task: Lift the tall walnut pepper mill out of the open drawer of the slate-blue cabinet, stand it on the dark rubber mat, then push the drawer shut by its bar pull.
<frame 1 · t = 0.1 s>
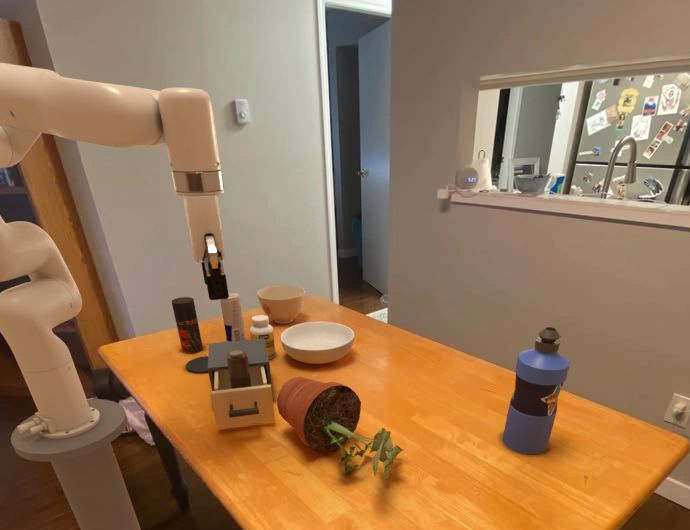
hand: (216, 290, 82), 31 cm above the table, tool pointing down, fingers open, 9 cm apart
deodorant: (192, 350, 138), on the table
bowl: (283, 321, 159), on the table
potted plant: (348, 458, 92), on the table
pill bottle: (264, 356, 134), on the table
mat: (205, 365, 128), on the table
water bottle: (524, 442, 97), on the table
drawer: (243, 398, 102), point 5 cm above the table, slide at 9.5 cm, touching pepper mill
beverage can: (236, 343, 142), on the table
cabinet: (243, 391, 116), on the table
serving bowl: (318, 357, 133), on the table
pepper mill: (244, 407, 105), point 2 cm above the table, touching drawer
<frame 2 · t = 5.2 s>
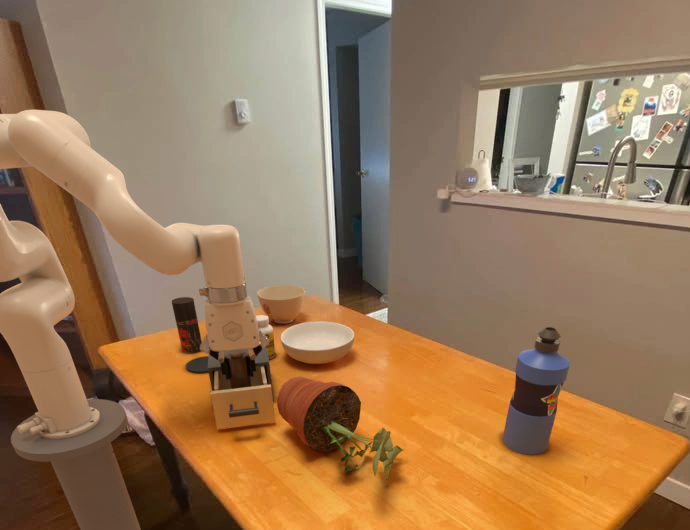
hand: (239, 374, 100), 10 cm above the table, tool pointing down, fingers closed on pepper mill, 4 cm apart
pepper mill: (244, 407, 105), point 2 cm above the table, touching drawer, gripper
everything else where it was.
when the fingers open (9 cm above the table, at t = 13.4 s): pepper mill stays where it is, resting on mat.
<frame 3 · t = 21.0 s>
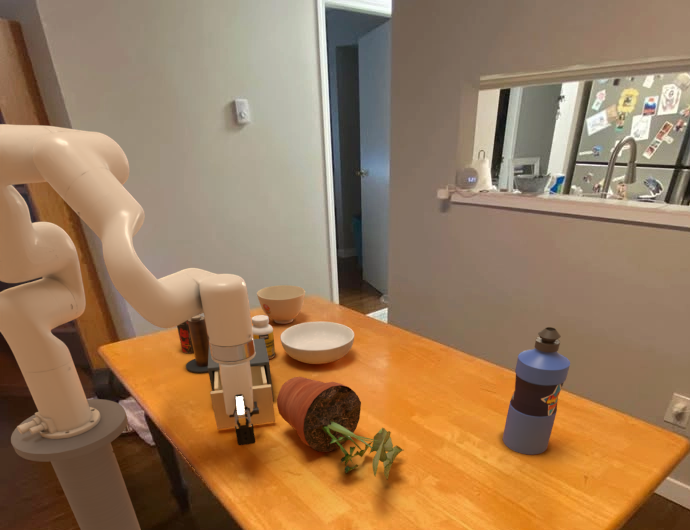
hand: (245, 429, 90), 6 cm above the table, tool pointing down, fingers open, 9 cm apart
drawer: (243, 398, 102), point 5 cm above the table, slide at 9.5 cm, touching gripper
pepper mill: (204, 363, 128), point 1 cm above the table, touching mat
everything else where it was.
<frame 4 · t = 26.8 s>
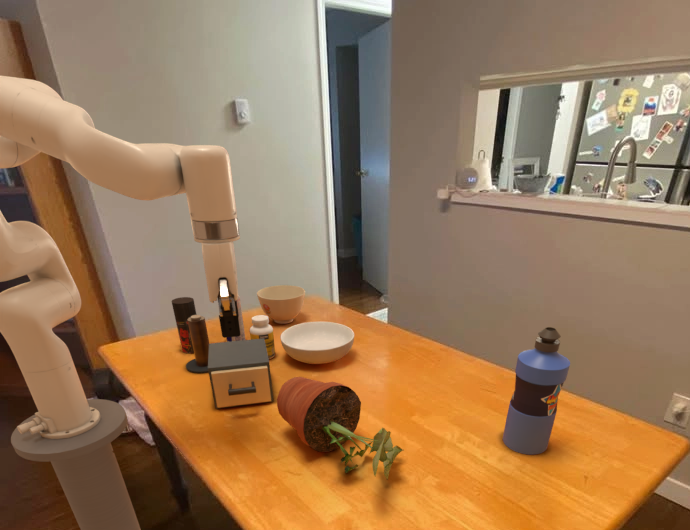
hand: (231, 326, 86), 24 cm above the table, tool pointing down, fingers open, 9 cm apart
drawer: (241, 379, 110), point 5 cm above the table, slide at 0.0 cm, touching cabinet
everything else where it was.
at the end: pepper mill 0.0 cm off-centre on the mat, point 0.6 cm above the mat's base; pepper mill tilted 0°; drawer slide at 0.0 cm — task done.
